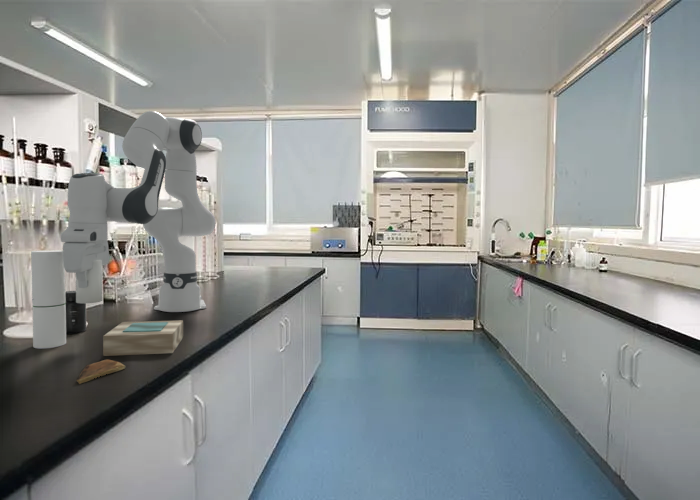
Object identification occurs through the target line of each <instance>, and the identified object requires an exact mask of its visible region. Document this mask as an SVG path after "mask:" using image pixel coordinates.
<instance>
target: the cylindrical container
mask: <svg viewBox="0 0 700 500" xmlns="http://www.w3.org/2000/svg"><path fill="white" fill-rule="evenodd" d="M30 255H31V256H30V260H31V303H32V304H31V305H32V307H31V309H32V345H33V346H32V347H33V348H35V349H42V350H43V349H53V348H57V347H61V346H64V345H66V344H67V334H66V298H65V292H66V270H65V268H64V263H63V250H61V249H60V250H59V249H56V250H55V249H52V250H32V251H30Z"/></svg>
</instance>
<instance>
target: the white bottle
mask: <svg viewBox="0 0 700 500" xmlns="http://www.w3.org/2000/svg"><path fill="white" fill-rule="evenodd" d="M96 256H97V255H96ZM86 277H87V280H88V287H86V288H79V286H78V280H77V277H76V276H75V291H76V303H86V304H95V303H101V302H103V266H102V260H97V261H93V268H92V269H90V270H87V275H86Z"/></svg>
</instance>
